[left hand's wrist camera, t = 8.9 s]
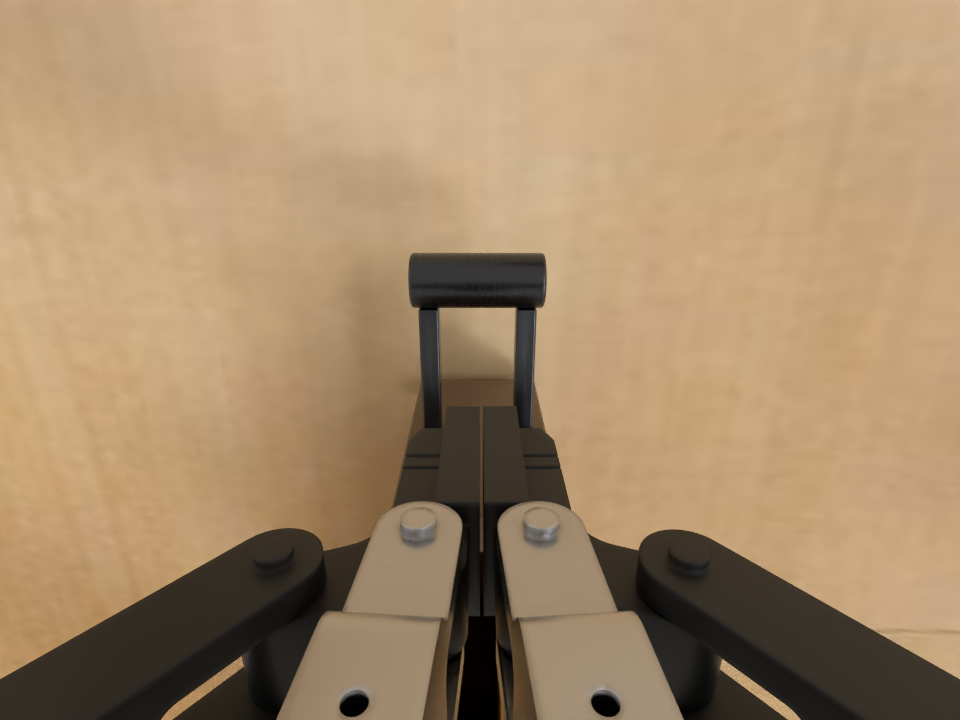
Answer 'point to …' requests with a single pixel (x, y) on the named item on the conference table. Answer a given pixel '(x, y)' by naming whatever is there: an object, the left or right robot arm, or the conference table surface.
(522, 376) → the drawer
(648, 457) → the conference table surface
